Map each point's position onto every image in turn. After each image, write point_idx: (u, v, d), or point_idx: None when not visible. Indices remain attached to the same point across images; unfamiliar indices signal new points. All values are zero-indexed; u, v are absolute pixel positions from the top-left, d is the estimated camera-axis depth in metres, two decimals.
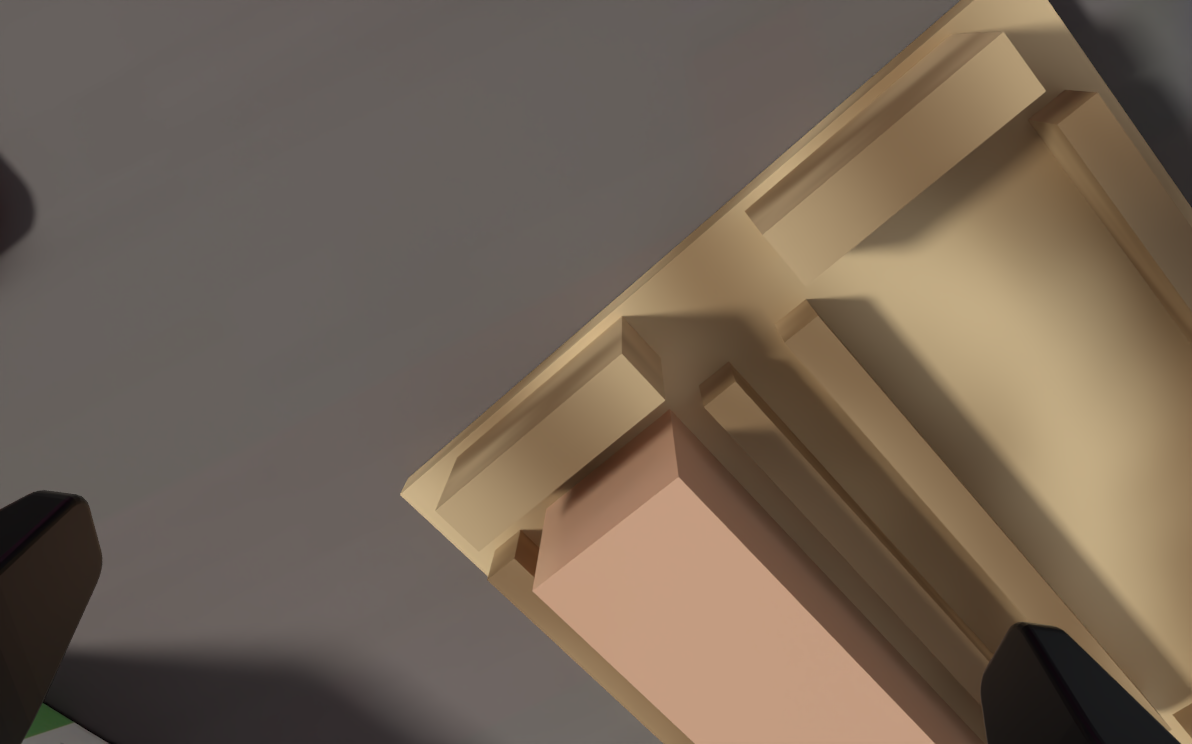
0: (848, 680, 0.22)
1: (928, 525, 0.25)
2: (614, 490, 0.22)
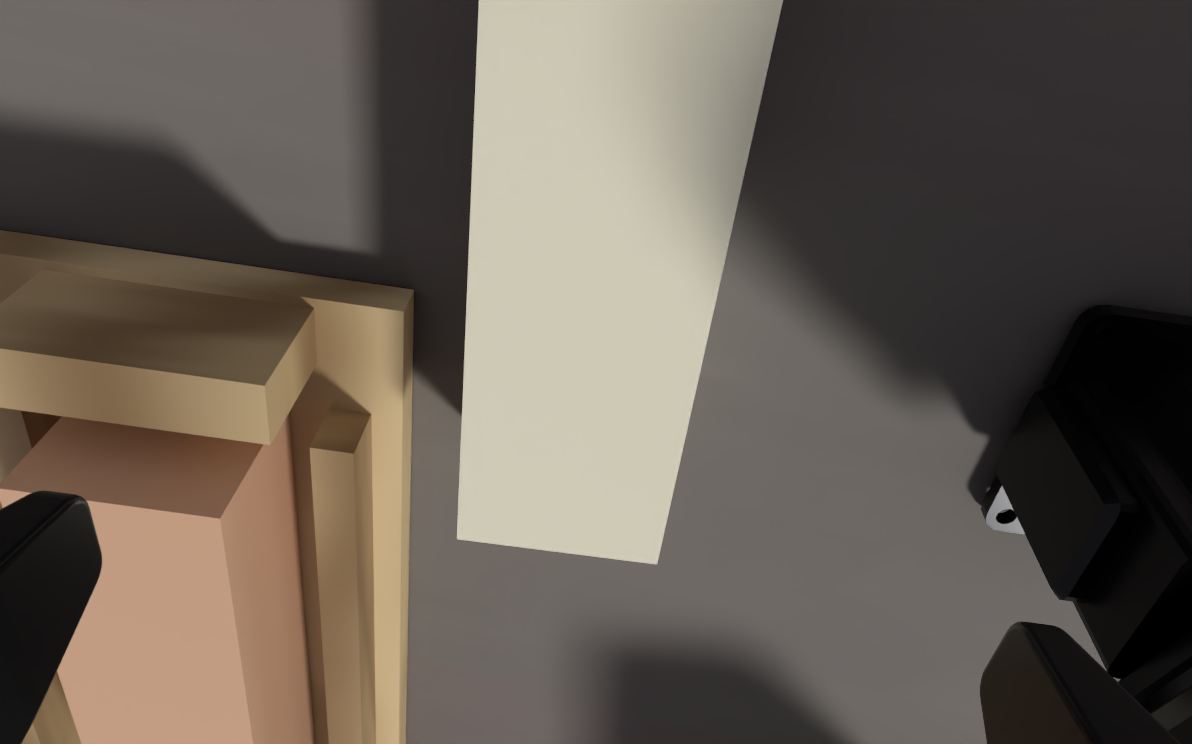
0: None
1: None
2: None
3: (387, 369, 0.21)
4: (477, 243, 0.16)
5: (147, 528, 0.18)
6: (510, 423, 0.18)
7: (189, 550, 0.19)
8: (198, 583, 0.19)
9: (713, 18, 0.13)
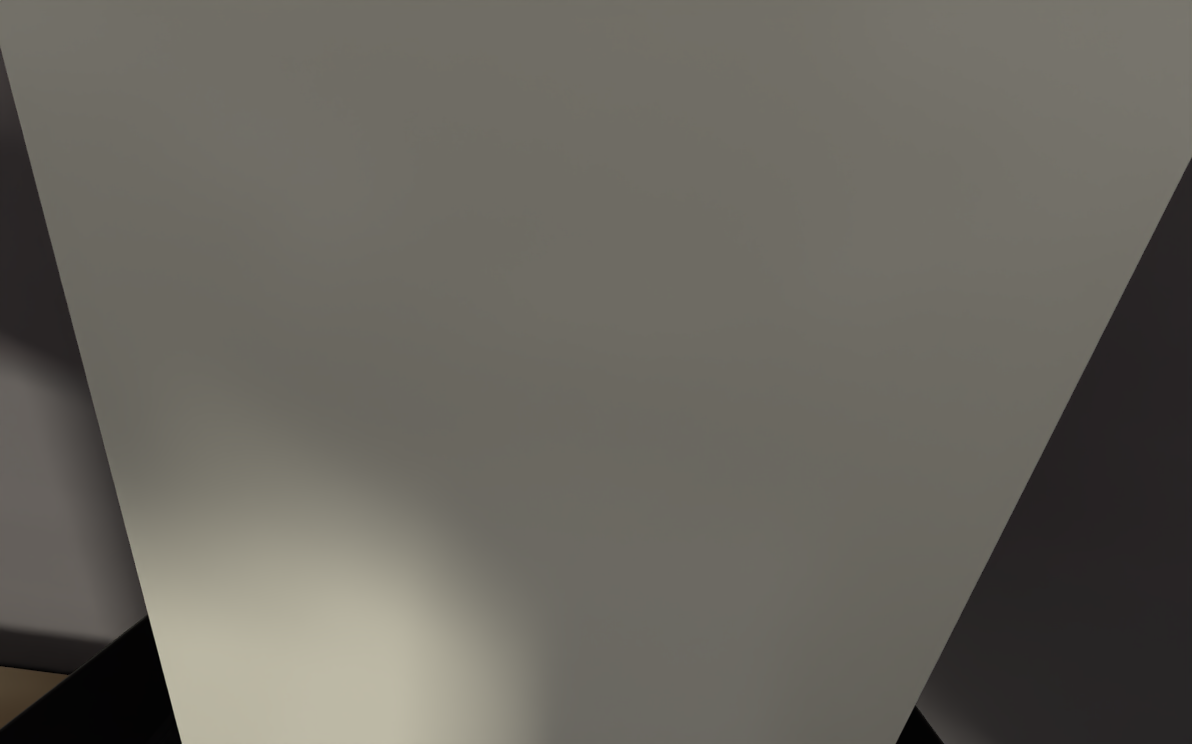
0: None
1: None
2: None
3: None
4: None
5: None
6: None
7: None
8: None
9: (801, 534, 0.05)
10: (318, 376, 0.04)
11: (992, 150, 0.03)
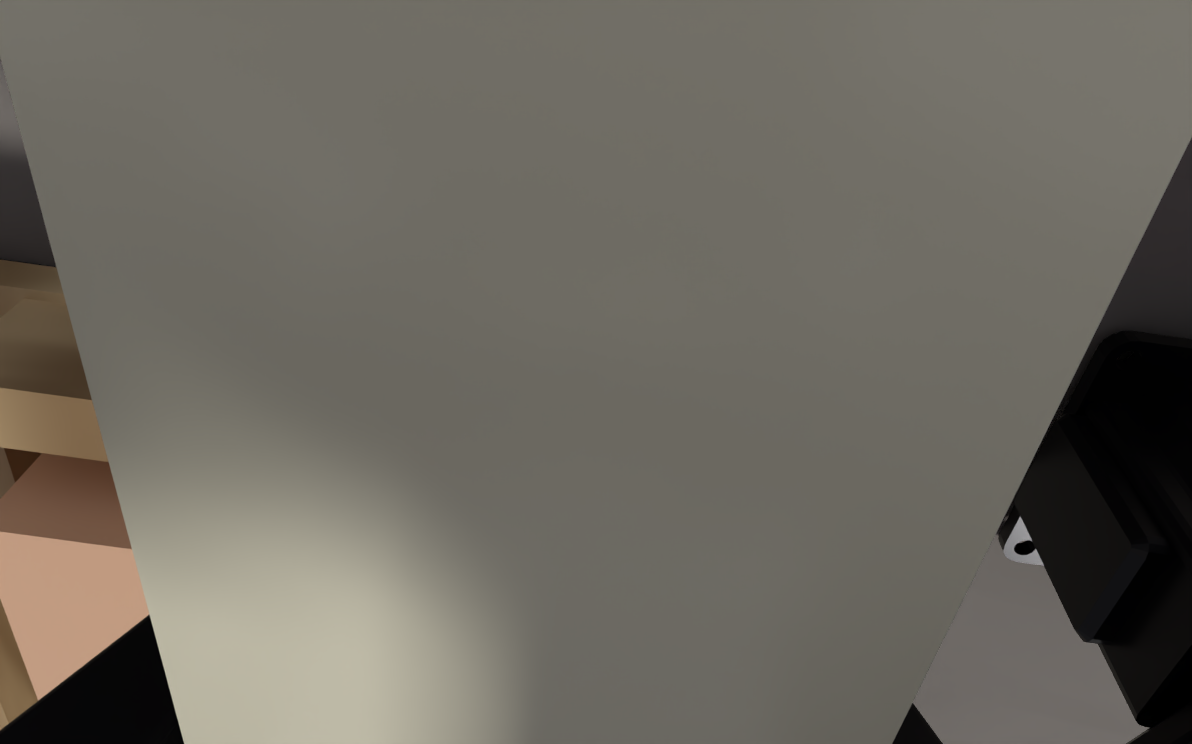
0: None
1: None
2: None
3: None
4: None
5: (131, 569, 0.18)
6: None
7: None
8: None
9: (796, 533, 0.05)
10: (317, 378, 0.04)
11: (983, 152, 0.03)
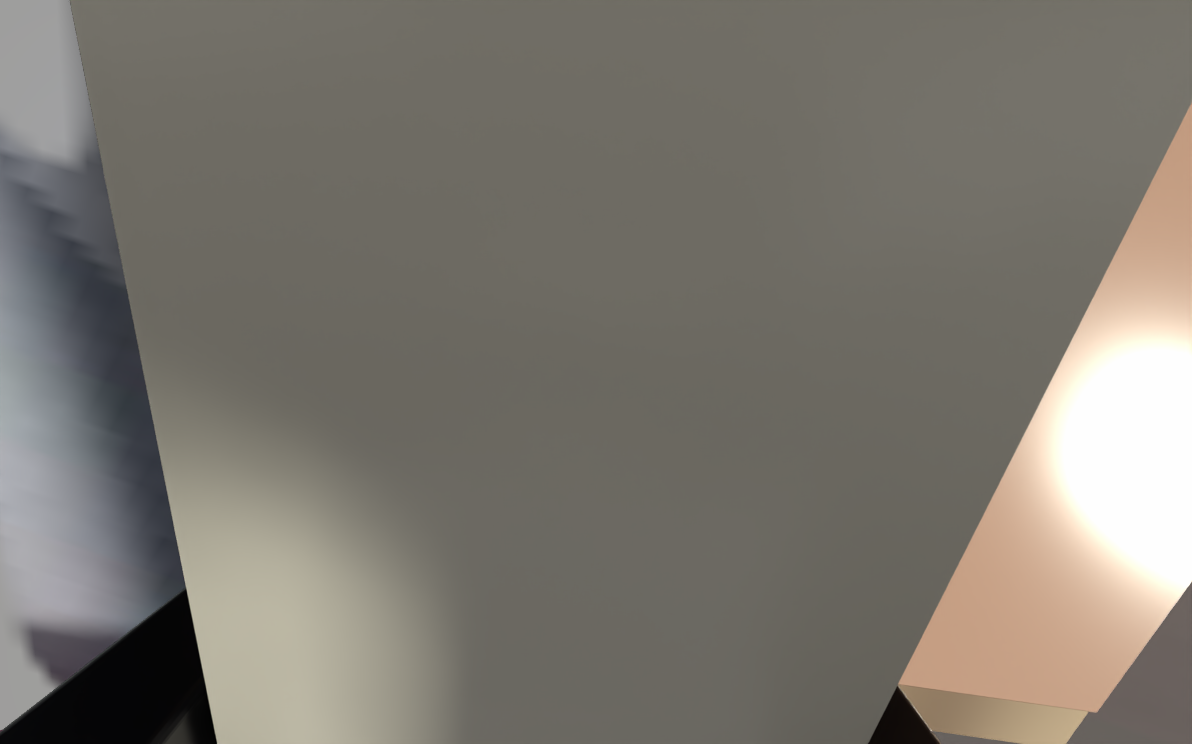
0: (1036, 435, 0.15)
1: None
2: None
3: None
4: None
5: None
6: None
7: None
8: None
9: (812, 479, 0.05)
10: (356, 320, 0.04)
11: (1000, 106, 0.04)
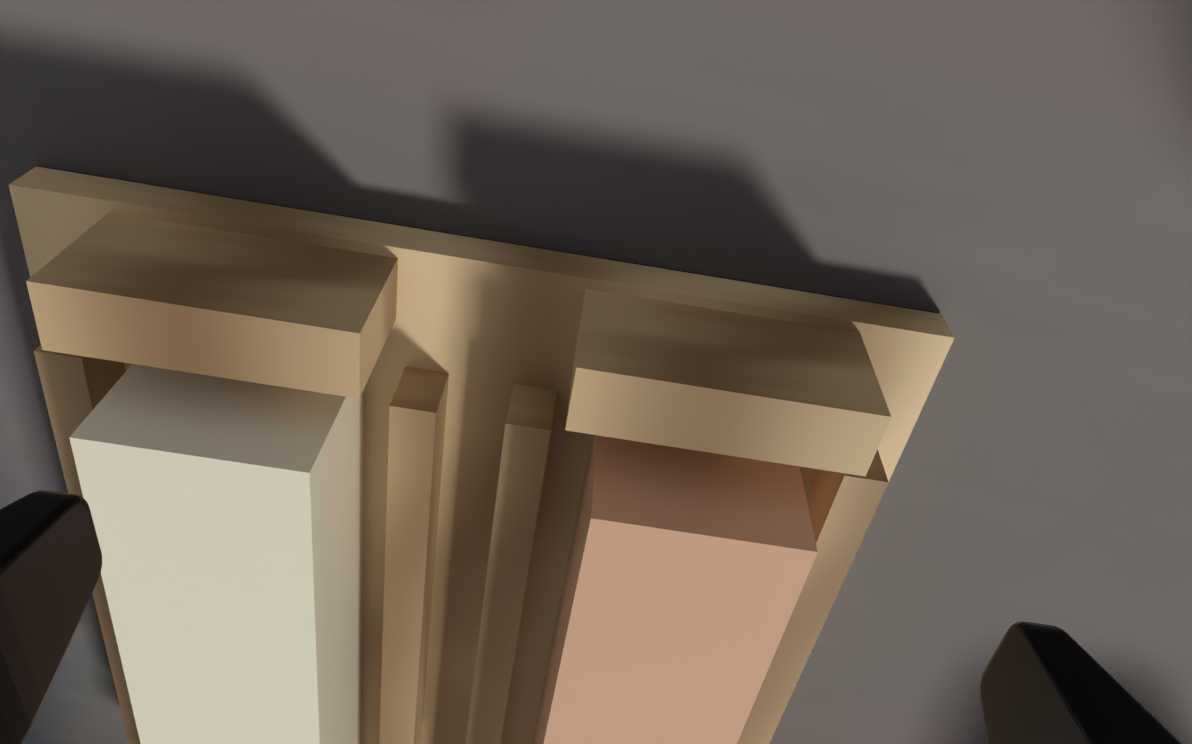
0: None
1: (445, 623, 0.25)
2: None
3: (911, 395, 0.20)
4: (139, 714, 0.22)
5: (732, 560, 0.18)
6: None
7: (765, 583, 0.18)
8: (756, 615, 0.19)
9: (271, 618, 0.19)
10: (155, 583, 0.19)
11: (277, 553, 0.18)
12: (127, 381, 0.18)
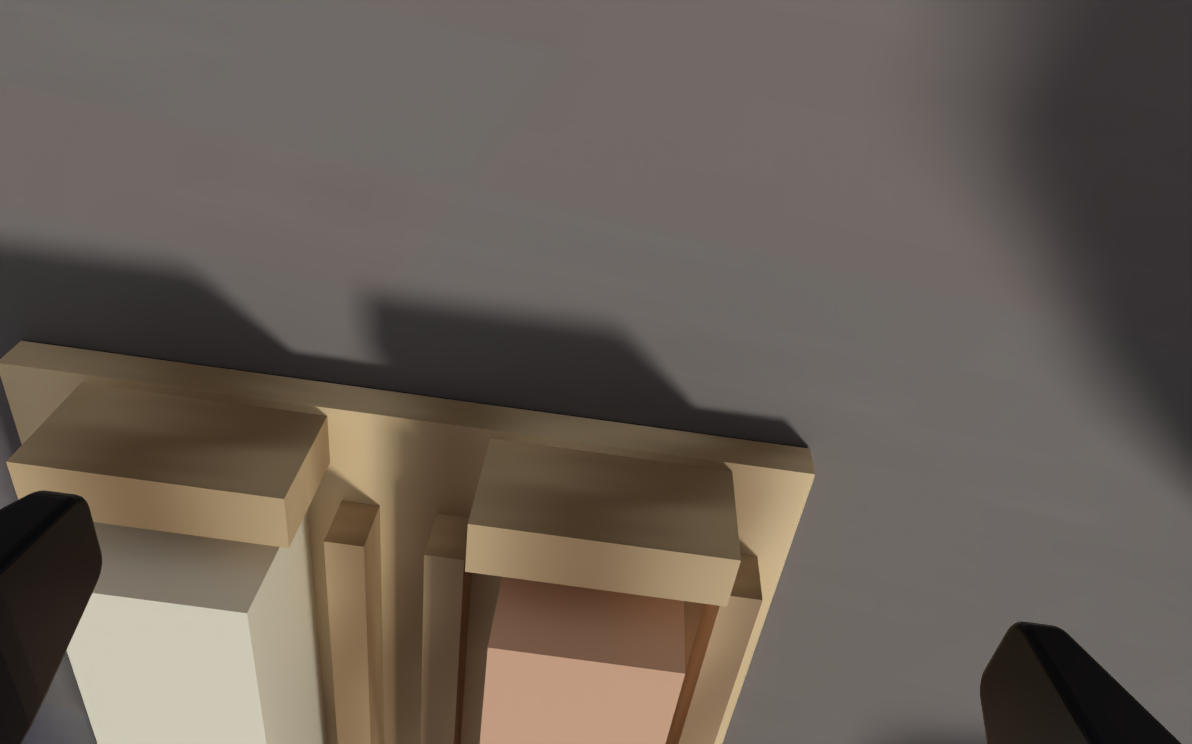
0: None
1: (397, 708, 0.28)
2: None
3: (784, 520, 0.23)
4: None
5: (614, 680, 0.20)
6: None
7: (645, 698, 0.21)
8: (641, 723, 0.21)
9: (226, 725, 0.22)
10: (126, 697, 0.22)
11: (226, 675, 0.21)
12: (98, 528, 0.21)
